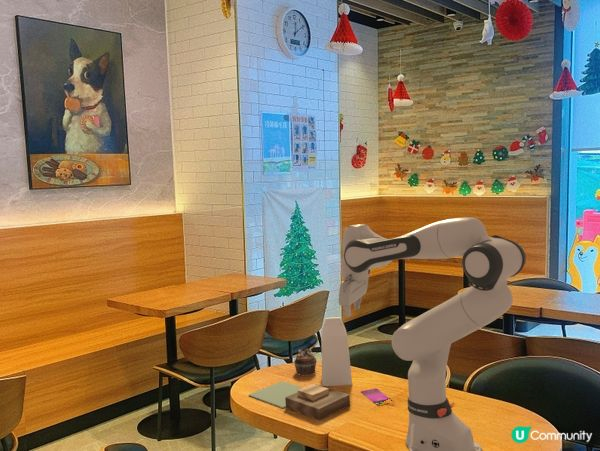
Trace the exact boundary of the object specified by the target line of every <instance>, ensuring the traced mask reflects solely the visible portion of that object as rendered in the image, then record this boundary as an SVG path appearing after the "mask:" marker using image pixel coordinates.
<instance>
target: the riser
mask: <svg viewBox="0 0 600 451" xmlns="http://www.w3.org/2000/svg"><path fill="white" fill-rule="evenodd" d="M318 385H319V384H318ZM319 386H322V385H319ZM322 387H325V388H328V389H329V394H328V395H325V396H323V397H321V398H319V399H316V400H314V401H313V400H310V399H307V398H304V397H301V396H298V392H297V393H294V394H292V395H290V396H287V397H285V401H286V408H285V409H287V410H290V411H293V412H296V413H299V414H301V415H304V416H306V417H309V418H312V419H314V420H317V421H321V420H324V419H325V418H327V417H329V416H331V415H333V414H336V413H337V412H338V413H339V411H341V410H344V409H346V408H348V407H350V406H351V397H350V395H351V394H349V393H345V392H342V391H339V390H335V389H334V388H329V387H327V386H322Z"/></svg>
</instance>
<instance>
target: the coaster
mask: <svg viewBox="0 0 600 451" xmlns="http://www.w3.org/2000/svg"><path fill="white" fill-rule="evenodd" d="M325 387H326V386H323V387H322V385H320V386H319V384H315V383H311V384H309V385H307V386H305V387H303V388H302V389H299V390H298V396H301V397H304V398H307V399H310V400H313V401H314V400H316V399H319V398H321V397H323V396H325V395H328V394H329V389H330V388H329V387H326V388H325ZM328 388H329V389H328Z"/></svg>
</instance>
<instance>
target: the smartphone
mask: <svg viewBox="0 0 600 451" xmlns="http://www.w3.org/2000/svg"><path fill="white" fill-rule="evenodd" d="M360 393H361V395H363V396H364V397H365V398H367V399H368V400H369V401H370V402H371V403H373V404H374V405H375V406H377V407H380V406H379V405H380V404H382V403H383V402H384V401H386V400H388V399H391V398H389V397H388V396H387V395H386V394H384V392H382V391H381V390H380V389H379V388H371V389H366V390H360Z"/></svg>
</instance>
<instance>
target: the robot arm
mask: <svg viewBox="0 0 600 451" xmlns="http://www.w3.org/2000/svg"><path fill="white" fill-rule="evenodd" d="M342 236H343V237H342V248H341V252H342V259H341V265H340V269H341V270H340V277H341V278H342V279H344V280H343V281H341V282H340V284H339V292H338V305H339V306H342V307H343V311H344V317H347V318H350V317H351V316H352V310H351V306H352V304H353V309H354V310H357V311H358V310H360V308H361V302H362V297H363V296H364V295H366V293H367V291H368V286H369V277H370V274H371V270H373V269H379V268H382V267H383V268H384V267H386V266H389V265H390V264H391V263H393V261H395V260H401V259H403V260H404V259H405V260H406V259H409V260H410V259H411V260H412V259H415V260H416V259H417V260H418V259H419V260H423V259H424V260H444V259H451V258H457V257H462V259H461V260H462V261H461V266H462V270H463V273H464V274H465V276H466V278H467V279H468V284H469V285H470V287H467V288H466V289H465V290H463V291H461V292H459V293H457V294H456V295H454V296H453V297H451V298H449V299H448V300H446V301H443V302H442V303H440V304H438V305H436V306H434V307H433V308H431V309H429V310H427V311H426V312H425V311H424V312H423V313H422V314H420V315H418V316H416V317H414V318H413V319H410V320H409V321H407V322H405V323H403V325H401V326H400V327H398V329H396V330H395V331H394V333H393V334H392V337H391V346H392V349H393V351H394V353H395V356H397V357H398V358H399V359H401V360H403V361H405V362H406V361H407V362H408V361H409V362H411V361H412V363H411V364H410V367H409V369H408V372H407V383H408V385H407V386H408V387H407V388H408V389H407V390H408V396H407V410H408V429H407V434H406V438H405V445H406V446H407V448H408V450H409V451H483V449H482V445H481V444H480V443H478V442H476V441H474V437H473V432H472V430H471V428H470V427H469V426H468V425H467V424H465V422H464V421H462V419H460V418H459V417H458V415H456V413H455V412H454V411H453V409H452V408H454V407H455V402H452V403H451V404H450V402H449V399H448V397H447V392H446V391H447V385H446V384H447V383H446V382H447V381H446V373H447V365H448V359H449V355H450V350H451V345H452V344H453V343H455V342H456V341H459V340H461V339H463V338H464V337H466V336H468V335H470V334H472V333H474V332H476V331H478V330H480V329H481V328H482V329H483V328H484V327H486V326H487V325H489V324H491V323H493V322H494V321H496V320H497V319H498V318H500V317H502V316H503V315H504V314H505V313H506V312H508V311H509V309H510V308H511V307H512V304H513V301H514V300H513V298H514V297H513V294H512V291H511V289H510V288H509V286H508V279H509V278H513V277H515V276H516V275H518V274H519V273H520V272H521V271H522V270H523V268H525V264H526V262H527V261H526V260H527V259H526V253H525V250H524V249H523V247H522V246H521V245H520V244H519V243H517V242H515V241H513V240H510V239H508V238H505V237H501V236H499V235H498V234H497V235H496V234H495V235H492V236H490V235H488V233H487V229H486V227H485V224H484V222H482V221H481V220H480V219H479V218H476V217H470V216H469V217H468V216H467V217H454V218H453V217H451V218H447V219H443V220H442V219H441V220H438V221H435V222H432V223H430V224H427V225H424V226H421V227H420V228H417V229H415V230H413V231H410V232H408V233H405V234H403V235H400V236H397V237H393V238H386V237H383V236H381V235H379V234H378V233H376V232H375V231H373V230H372V229H371V228H370V226H369V225H368V224H364V223H362V224H352V225H348V226H346V227H345V229H344V232H343V235H342Z"/></svg>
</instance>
